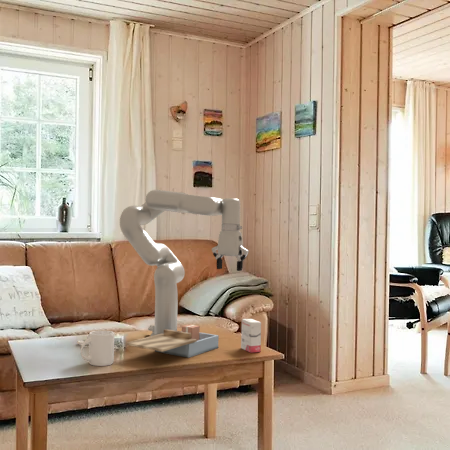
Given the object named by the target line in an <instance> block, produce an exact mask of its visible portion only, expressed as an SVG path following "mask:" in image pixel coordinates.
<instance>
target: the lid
mask: <svg viewBox="0 0 450 450" xmlns="http://www.w3.org/2000/svg"><path fill="white" fill-rule="evenodd" d="M191 335H192V333H187V332H181V331H179V330H177V331H174V330H168V329H165V330H164V334H158V335H154V336H151V335H150V336H147V337H144V338H138V339H134V340H131V341H126V343H125V345H126V346H130V347H134V348H141V349H147V350H151V351H155V350H156V351H161V352H160V353H162V352H163V351H167V350H170V349H173V348H177V347H180V346H183V345H187V344H190V343H193V342H197V339H192V338H191ZM156 351H155V352H156Z"/></svg>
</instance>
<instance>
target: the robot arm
mask: <svg viewBox="0 0 450 450" xmlns="http://www.w3.org/2000/svg"><path fill="white" fill-rule="evenodd" d="M144 199H145V202H144V203H143V204H141V205H130V206H127V207H125V208H124V209H123V211H121V214H120V217H119V227H120V230H121V233H122V235H123V236H124V237H125V238H126V239H125V240H127V241H128V243H129V244H130V245H131V247H132V248H133V249H134V250H135V252H136V253H137V255H138V256H139V257H140V259H141V260H142V261H143V262H144V263H145V264H146V265H148V266H153V267H154V266H156V269H155V270H154V274H153V279H154V282H153V283H154V296H155V297H154V325H153V324H150V325H149V326H148V328H147V330H148V331H151V332H152V333H151V334H150V336H154V335H158V334H164V330H165V329H168V330H174V331H178V305H179V304H178V303H179V302H178V301H179V300H178V299H179V298H178V297H179V296H178V295H179V294H178V293H179V292H178V286H177V284H178V283H180V282H182V281H183V279H185V278H184V277H185V276H186V275H185V274H186V271H185V267H184V265H183V264H182V263H181V262H180V260H179V259H178V258H177V256H176V255H175V254H174V253H173V251H172V250H171V248H169V247H168V246H167V245H166V244H165V243H161V242H155V241H154V240H153V239H152V237H151V236H150V235H149V233H148V232H147V231H146V229H144V228H142V226H144V225H147V224H149V223H151V222H152V221H154V220H155V219H156V218H158V217H159V216H160V215H162V214H163V213H164V212H172V213H177V214H178V213H181V214H193V215H201V216H211V217H214V216H216V217H217V216H221V226H220V227H221V228H220V229H221V230H220V231H219V234H218V235H219V236H218V241H217V245H216V246H214V247H212V248H211V252H212V255H213V257H215V260H216V264H215V265H216V269H217V270H222V269H223V259H222V258H223V257H224V256H226V257H236V259H237V261H236V272H240V271H242V270H243V266H244V265H243V263H244V261H245V259H246V258H247V257H248V254H249V250H248V249H247V248H245V247H244V241H243V239H244V238H243V234H242V232H241V230H242V229H243V226H242V225H241V223H240V222H241V200H240V199H238V198H234V197H233V198H231V197H230V198H219V197H215V196H214V197H212V196H201V195H194V194H188V193H185V192H182V191H181V192H178V191H172V190H171V191H170V190H161V189H152V190H150V191H148V192H147V194H146V195H145V198H144Z"/></svg>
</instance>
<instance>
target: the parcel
mask: <svg viewBox="0 0 450 450" xmlns="http://www.w3.org/2000/svg"><path fill="white" fill-rule="evenodd" d="M200 327H201V326H200V325H196V324H185V325H182V326H181V331H182V332H187V333H192V335H191V338H192V339H197V341H198V340H199V332H200Z"/></svg>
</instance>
